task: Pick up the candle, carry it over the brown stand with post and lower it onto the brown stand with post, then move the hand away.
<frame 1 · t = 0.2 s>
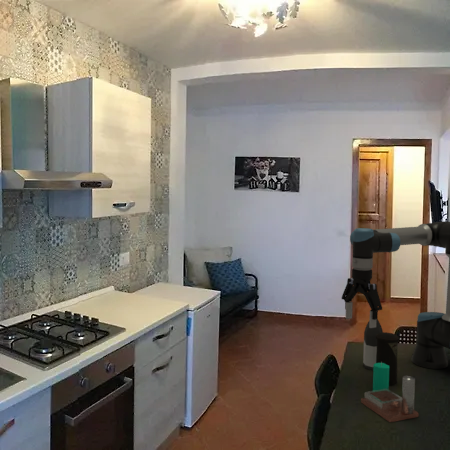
hand: (360, 322, 186), 27 cm above the table, fingers open, 13 cm apart
container: (385, 382, 196), on the table
wine bottle: (372, 367, 212), on the table
brown stand with post: (384, 406, 174), on the table
candle: (380, 392, 187), on the table
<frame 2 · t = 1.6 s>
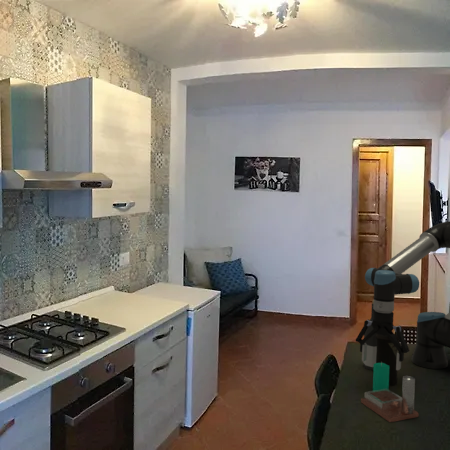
hand: (380, 364, 186), 11 cm above the table, fingers open, 13 cm apart
nothing on the table moved.
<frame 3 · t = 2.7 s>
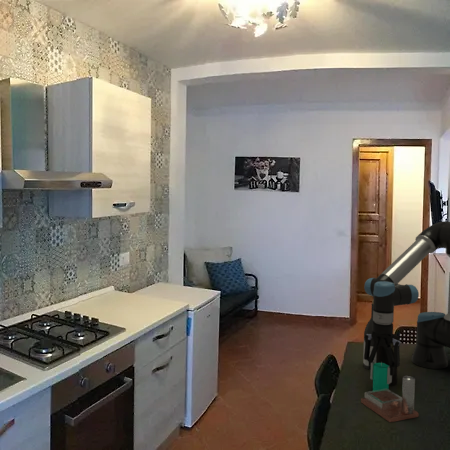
hand: (380, 380, 186), 4 cm above the table, fingers closed on candle, 6 cm apart
candle: (380, 392, 187), on the table, touching gripper
everything else where it was.
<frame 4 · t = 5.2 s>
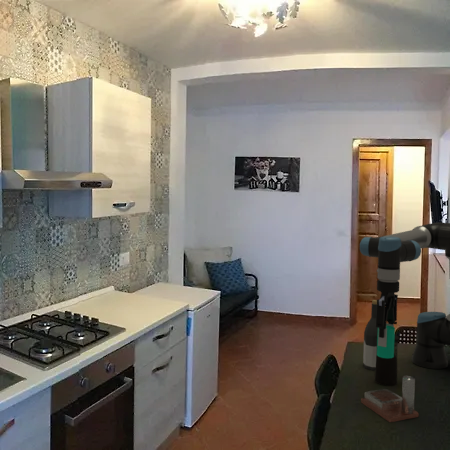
hand: (385, 343, 172), 23 cm above the table, fingers closed on candle, 6 cm apart
candle: (385, 356, 173), point 19 cm above the table, touching gripper
everything else where it was.
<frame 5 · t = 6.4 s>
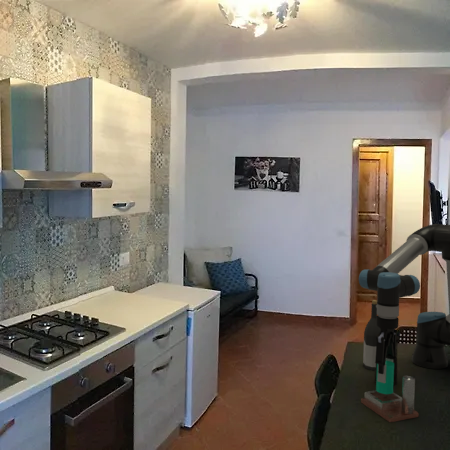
hand: (385, 378, 173), 10 cm above the table, fingers closed on candle, 6 cm apart
candle: (384, 391, 173), point 6 cm above the table, touching gripper
everything else where it was.
when the fingers open (7 cm above the table, at t = 7.5 s): candle stays where it is, resting on brown stand with post.
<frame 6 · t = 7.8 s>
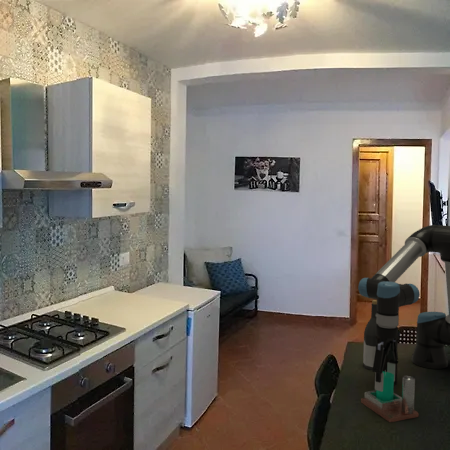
hand: (384, 385, 173), 8 cm above the table, fingers open, 10 cm apart
candle: (384, 402, 174), point 1 cm above the table, touching brown stand with post
everything else where it was.
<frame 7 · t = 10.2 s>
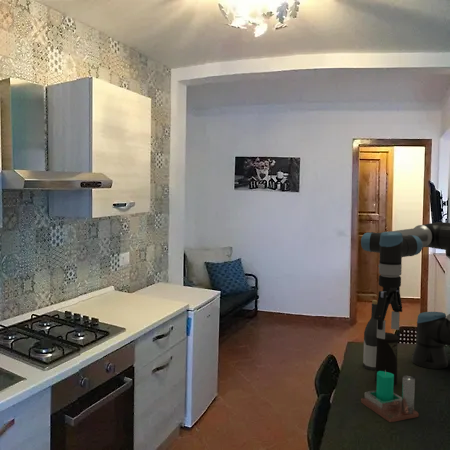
hand: (388, 333, 173), 27 cm above the table, fingers open, 13 cm apart
nothing on the table moved.
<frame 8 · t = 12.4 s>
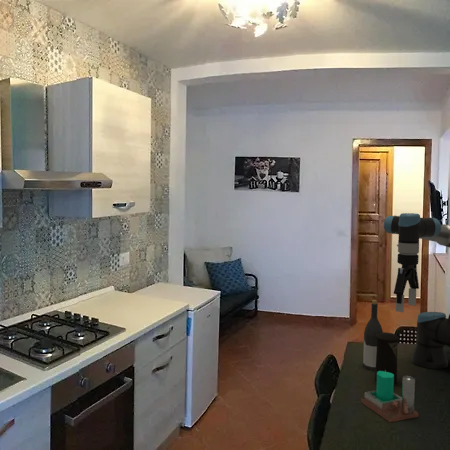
hand: (406, 308, 185), 33 cm above the table, fingers open, 13 cm apart
nothing on the table moved.
at the end: candle 0.1 cm off-centre on the brown stand with post, point 1.3 cm above the brown stand with post's base; candle tilted 0°; the gripper is holding nothing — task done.
